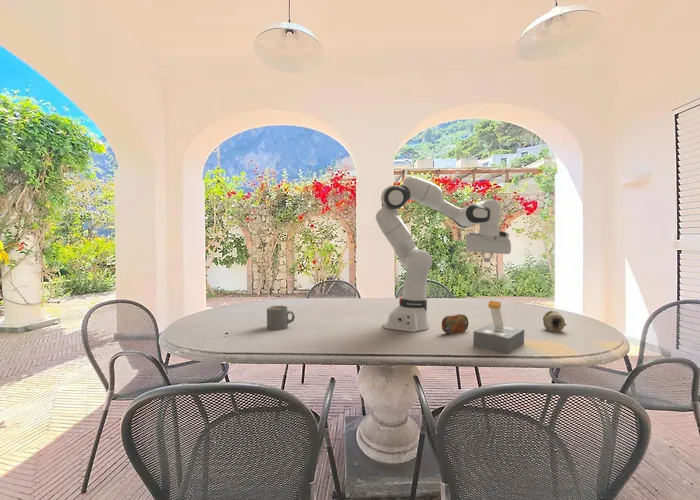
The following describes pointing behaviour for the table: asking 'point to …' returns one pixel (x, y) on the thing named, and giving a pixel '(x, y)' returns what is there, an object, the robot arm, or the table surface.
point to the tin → (455, 324)
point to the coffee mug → (278, 317)
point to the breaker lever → (496, 314)
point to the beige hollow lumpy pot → (553, 321)
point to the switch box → (498, 338)
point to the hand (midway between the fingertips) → (486, 261)
